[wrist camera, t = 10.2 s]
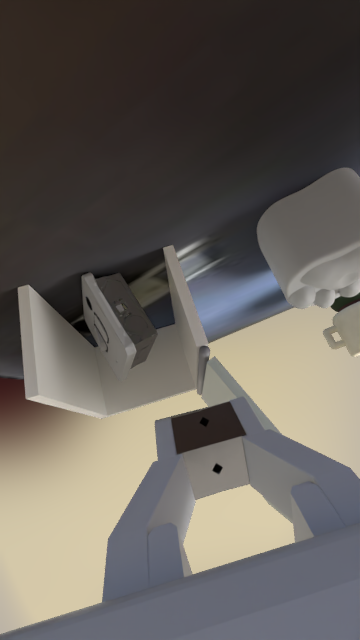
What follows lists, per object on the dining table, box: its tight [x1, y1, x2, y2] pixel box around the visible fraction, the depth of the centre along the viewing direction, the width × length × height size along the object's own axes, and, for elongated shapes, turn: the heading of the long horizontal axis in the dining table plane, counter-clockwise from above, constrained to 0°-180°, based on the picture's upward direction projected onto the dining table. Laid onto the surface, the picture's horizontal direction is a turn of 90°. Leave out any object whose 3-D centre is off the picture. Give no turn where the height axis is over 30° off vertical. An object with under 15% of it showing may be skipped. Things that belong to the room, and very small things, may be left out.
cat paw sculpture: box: [257, 168, 360, 309], centre depth 29 cm, size 10×13×9 cm
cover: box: [202, 356, 293, 523], centre depth 29 cm, size 15×20×2 cm
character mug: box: [323, 292, 360, 357], centre depth 42 cm, size 11×7×13 cm, turn 115°
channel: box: [18, 245, 210, 419], centre depth 34 cm, size 15×20×12 cm
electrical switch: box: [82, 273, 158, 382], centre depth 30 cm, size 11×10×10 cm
